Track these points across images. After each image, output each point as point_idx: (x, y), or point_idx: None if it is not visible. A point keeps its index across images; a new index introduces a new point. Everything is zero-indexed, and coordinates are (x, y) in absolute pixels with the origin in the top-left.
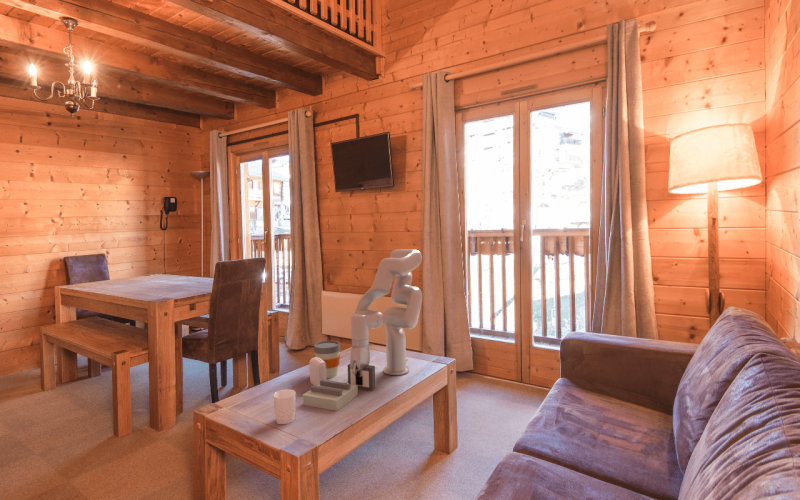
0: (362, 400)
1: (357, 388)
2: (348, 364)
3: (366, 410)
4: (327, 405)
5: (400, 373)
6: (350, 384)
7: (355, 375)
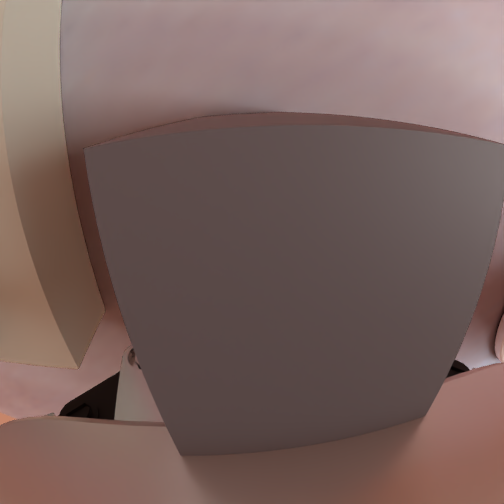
0: (70, 372)
1: (86, 348)
2: (197, 144)
3: (29, 414)
4: None
5: (499, 359)
6: (42, 298)
7: (127, 364)
